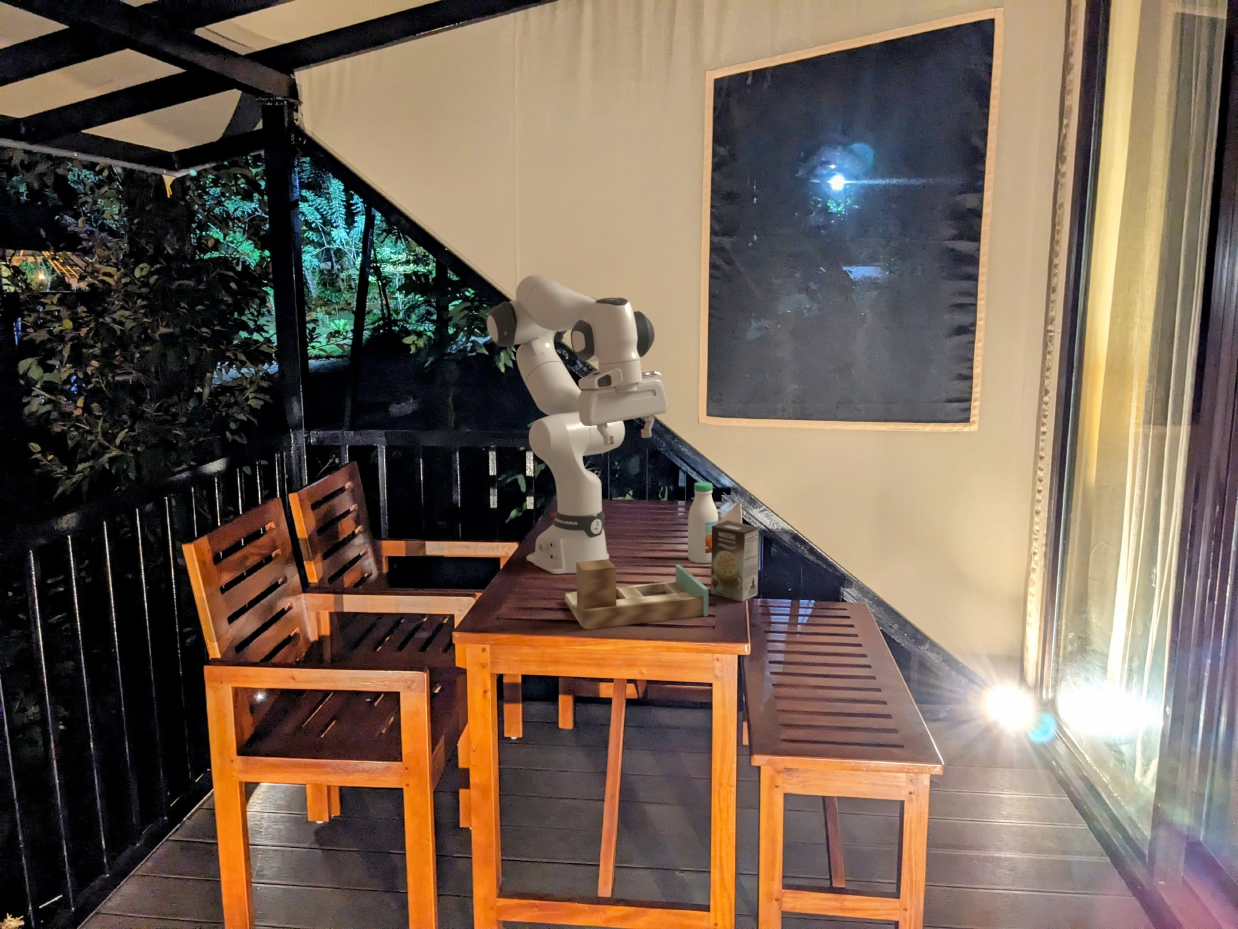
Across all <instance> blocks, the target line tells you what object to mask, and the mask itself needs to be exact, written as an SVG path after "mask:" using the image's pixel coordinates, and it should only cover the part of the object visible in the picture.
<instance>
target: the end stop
mask: <svg viewBox="0 0 1238 929" xmlns="http://www.w3.org/2000/svg"><path fill="white" fill-rule="evenodd" d="M675 581H676V582H677V583H678V584H679V585H680V586H681V587H682V588H683V589H684V590H685V591H686V592H688V593H689V594H690V595H691V596H692V597H699V596H702V597H703V616H702V617H708V616H709V588H708V587H707V586H706V585H704V583H702V582H701V581H700V580H699V579H698V578H696V577H695V576H694V575H693V574H692V573H691V572H689V571H688V570H687V569H686V568H684V566H682V564H675Z"/></svg>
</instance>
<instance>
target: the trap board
mask: <svg viewBox="0 0 1238 929" xmlns="http://www.w3.org/2000/svg"><path fill="white" fill-rule="evenodd" d="M564 602H565V604H566V603H567V604H566V605H567V607H568V606H569V607H568V608H569V609H570V611H571V613H572V614H573V615H574V617H575V618H576V620H577V622H578V623H579V624H580V626H581V628H582V627H583V628H582V629H583V630H584V629H587V630H594V629H602V628H611V627H620V626H627V625H635V624H645V623H654V622H660V621H669V620H677V619H685V618H686V619H687V618H695V617H704V616H703V597H702V596H699V597H692V596H691V595H690V594H689V593H688V592H686V591H685V590H684V589H683V588H682V587H681V586H680V585H679V584H678V583H677V582H676V580H673V581H663V582H654V583H644V584H635V585H625V586H618V587H617V586H616V606H610V607H601V608H593V609H584V610H582V614H581V612H580V611H579V609H578V608H577V591H569V592H564Z"/></svg>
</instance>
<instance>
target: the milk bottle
mask: <svg viewBox="0 0 1238 929" xmlns="http://www.w3.org/2000/svg"><path fill="white" fill-rule="evenodd" d="M693 490H694V491H693V492H694V498H693V502H692V503H691V505H690V508H689V511H688V515H687V516H688V518H687V558H688V560H689V561H690V562H691V563H695V564H711V558H712V526H714V525H716V524H719V512H718V509H717V507H716V505H715V503H714V500H713V497H712V493H713V483H711V482H709V481H699V482H695V483H694V485H693Z"/></svg>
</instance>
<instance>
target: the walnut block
mask: <svg viewBox="0 0 1238 929" xmlns="http://www.w3.org/2000/svg"><path fill="white" fill-rule="evenodd" d="M616 568H617V566H615V564H613V563H612V561H610V560H609V559H605V560H595V561H584V562H576V573H575V574H576V575H575V576H576V592H577V608H578V609H579V611H580V612H581V614H582V610H584V609H593V608H601V607H610V606H616V587H617V569H616Z"/></svg>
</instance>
